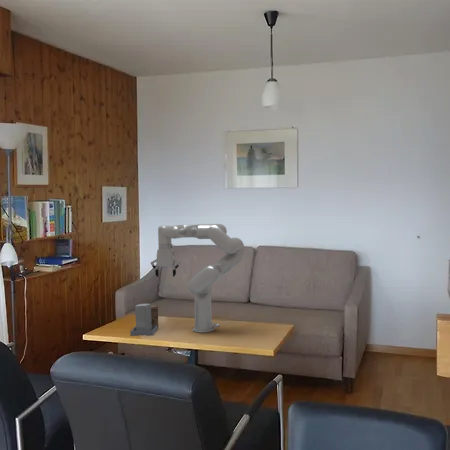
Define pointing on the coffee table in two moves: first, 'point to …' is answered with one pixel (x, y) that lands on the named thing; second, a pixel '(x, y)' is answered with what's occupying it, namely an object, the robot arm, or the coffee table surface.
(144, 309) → the skincare box
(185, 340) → the coffee table surface
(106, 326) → the coffee table surface
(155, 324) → the dark block on base
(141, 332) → the blue-grey shallow tray
